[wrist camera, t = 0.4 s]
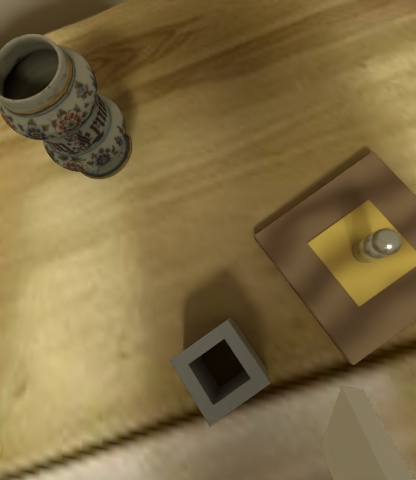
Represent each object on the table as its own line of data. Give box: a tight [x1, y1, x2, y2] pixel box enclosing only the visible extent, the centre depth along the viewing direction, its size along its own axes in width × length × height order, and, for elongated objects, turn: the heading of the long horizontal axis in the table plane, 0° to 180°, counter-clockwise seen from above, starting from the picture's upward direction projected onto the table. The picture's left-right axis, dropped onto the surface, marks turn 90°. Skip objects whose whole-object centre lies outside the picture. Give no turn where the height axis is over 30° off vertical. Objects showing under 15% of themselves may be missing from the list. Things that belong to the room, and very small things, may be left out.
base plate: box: [254, 152, 416, 365], centre depth 40 cm, size 20×20×2 cm
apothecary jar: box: [0, 34, 132, 179], centre depth 40 cm, size 12×12×18 cm
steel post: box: [352, 228, 402, 263], centre depth 35 cm, size 3×3×8 cm
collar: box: [170, 317, 270, 426], centre depth 37 cm, size 8×8×7 cm
